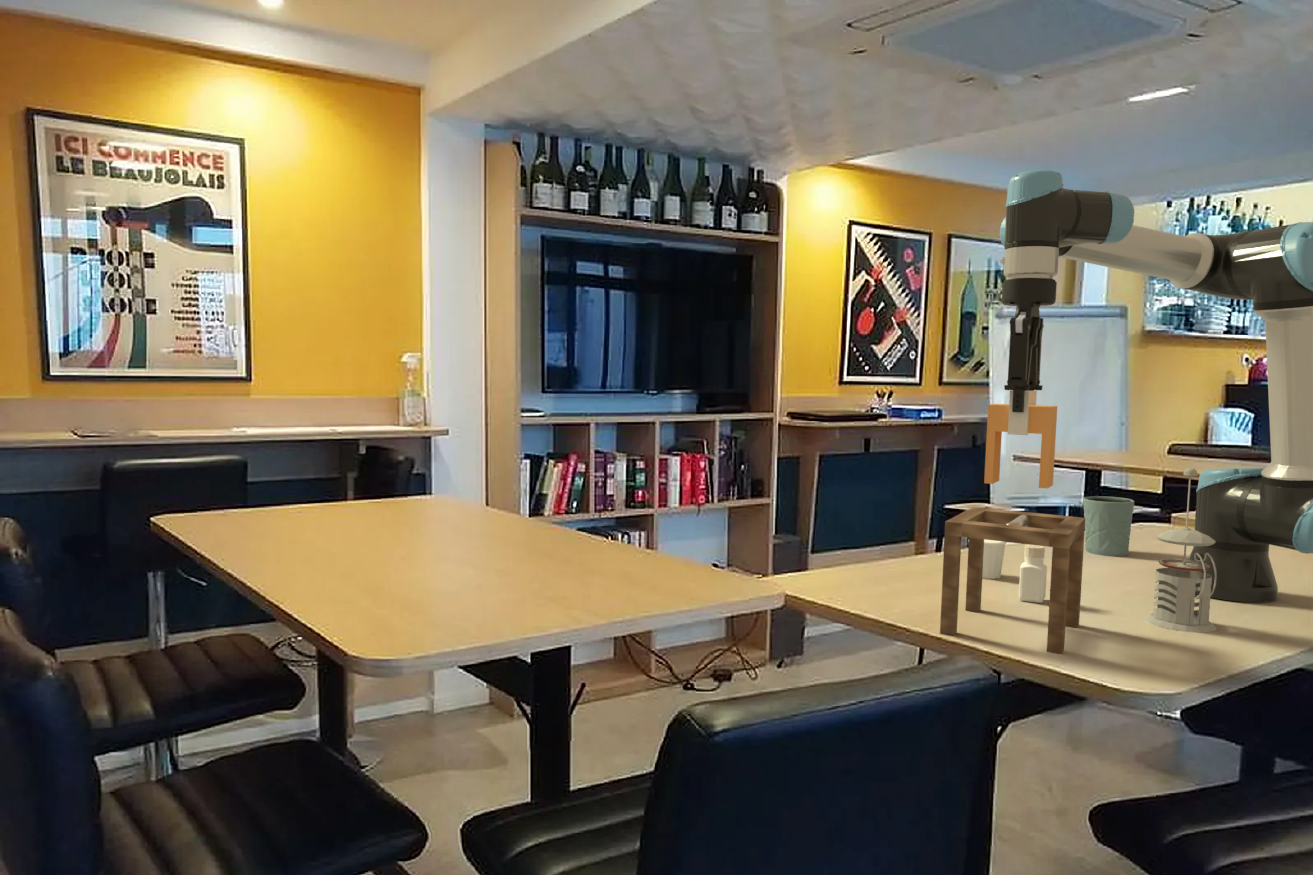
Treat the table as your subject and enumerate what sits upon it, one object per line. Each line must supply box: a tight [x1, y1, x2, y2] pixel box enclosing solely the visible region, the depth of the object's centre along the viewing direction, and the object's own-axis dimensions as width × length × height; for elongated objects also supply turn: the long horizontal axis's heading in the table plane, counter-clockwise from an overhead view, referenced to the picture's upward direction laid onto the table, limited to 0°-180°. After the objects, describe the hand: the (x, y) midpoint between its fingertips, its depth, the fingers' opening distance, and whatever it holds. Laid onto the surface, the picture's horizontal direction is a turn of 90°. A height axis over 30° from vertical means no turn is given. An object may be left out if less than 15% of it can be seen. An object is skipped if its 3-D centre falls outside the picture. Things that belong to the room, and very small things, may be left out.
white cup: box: [968, 539, 1007, 580], centre depth 177 cm, size 7×7×7 cm
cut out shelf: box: [939, 506, 1085, 655], centre depth 140 cm, size 17×18×17 cm
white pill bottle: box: [1018, 544, 1048, 604], centre depth 159 cm, size 4×4×10 cm
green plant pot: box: [1082, 495, 1135, 557], centre depth 203 cm, size 10×10×12 cm
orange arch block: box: [983, 403, 1058, 489], centre depth 139 cm, size 9×5×12 cm, turn 58°
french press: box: [1145, 467, 1217, 633], centre depth 144 cm, size 10×12×25 cm
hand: (1021, 433), depth 139 cm, fingers closed on orange arch block, 5 cm apart
